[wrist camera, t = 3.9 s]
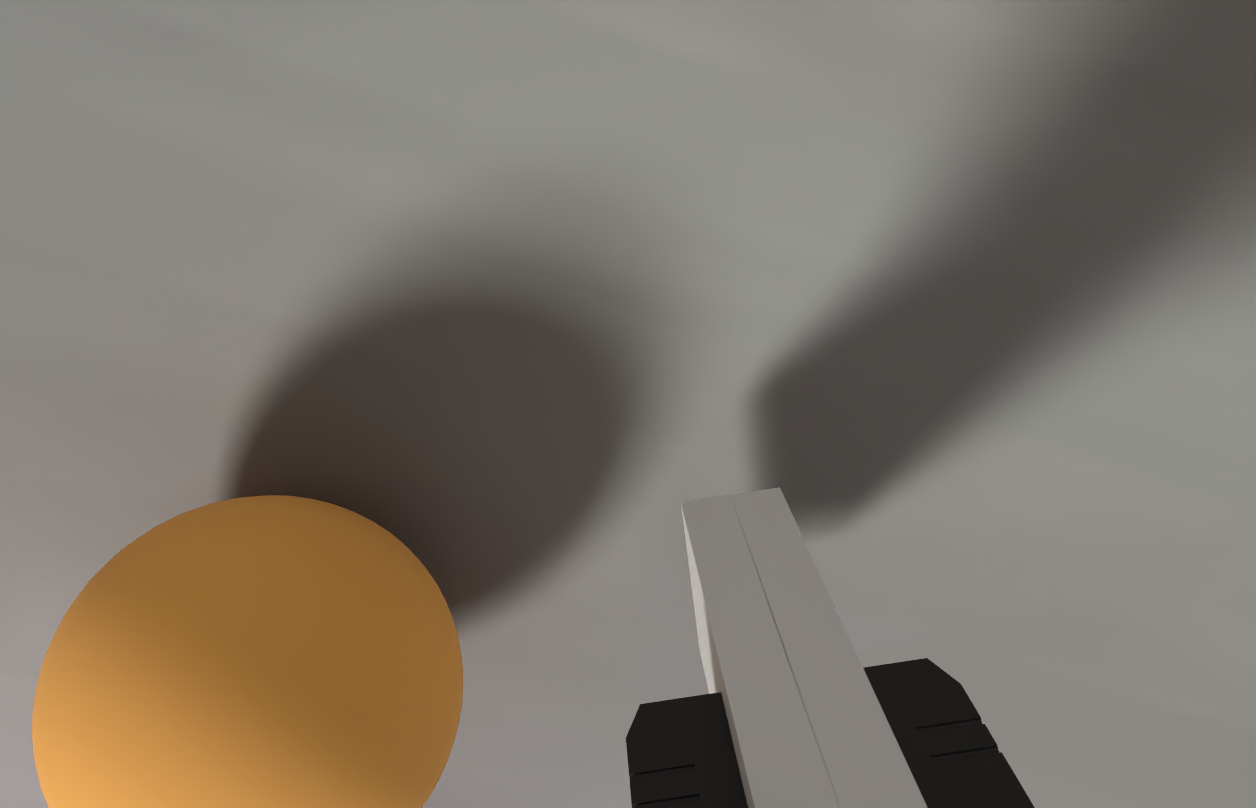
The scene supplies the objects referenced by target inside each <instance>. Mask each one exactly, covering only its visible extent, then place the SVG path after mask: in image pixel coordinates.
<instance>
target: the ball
mask: <svg viewBox="0 0 1256 808" xmlns="http://www.w3.org/2000/svg"><path fill="white" fill-rule="evenodd" d="M462 694H463V665H462V658H461V651H460V645H459V639H458V634H457V630H456V627H455V624H454V621H453V618H452V615H451V613H450V610H449V608H448V605H447V603H446V600H445V598H444V597H443V595H442V593H441V591H440V589H439V587H438V585H437V583H436V582H435V580H434V579H433V578H432V576H431V575H430V573H429V572H428V571H427V569H426V568H425V566H424V565H423V564H422V563H421V561H420V560H419V559H418V558H417V557H416V556H415V555H414V554H413V553H412V552H411V551H410V549H409V548H408V547H407V546H406V545H405V544H403V543H402V542H401V541H400V540H399V539H397V538H396V537H395V536H394V535H393V534H391V533H390V532H389V531H387V530H386V529H384V528H382V527H381V526H379V525H378V524H376V523H375V522H373V521H371V520H369V519H367V518H365V517H363V516H361V515H360V514H358V513H356V512H353V511H351V510H348V509H345V508H343V507H340V506H337V505H335V504H331V503H327V502H323V501H319V500H315V499H310V498H303V497H296V496H282V495H264V496H253V497H242V498H234V499H230V500H225V501H220V502H215V503H211V504H208V505H205V506H203V507H200V508H197V509H194V510H191V511H188V512H186V513H183V514H181V515H178V516H176V517H174V518H172V519H170V520H168V521H166V522H164V523H162V524H160V525H158V526H156V527H154V528H153V529H151V530H150V531H148V532H147V533H145V534H144V535H142V536H141V537H139V538H138V539H136V540H135V541H133V542H132V543H131V544H129V545H128V546H126V547H125V548H123V549H122V550H121V551H120V552H119V553H118V554H117V555H115V556H114V557H113V558H112V559H111V560H110V561H109V562H108V563H107V564H106V565H105V566H104V567H103V568H102V569H101V570H100V571H99V572H98V573H97V574H96V575H95V576H94V577H93V578H92V579H91V580H90V581H89V582H88V584H87V585H86V586H85V587H84V589H83V590H82V591H81V593H80V594H79V595H78V597H77V598H76V599H75V601H74V602H73V604H72V605H71V607H70V608H69V609H68V611H67V612H66V614H65V615H64V617H63V619H62V621H61V623H60V625H59V627H58V629H57V631H56V633H55V635H54V637H53V639H52V641H51V643H50V646H49V648H48V650H47V652H46V655H45V658H44V662H43V665H42V668H41V671H40V675H39V679H38V683H37V688H36V692H35V698H34V707H33V720H32V739H33V754H34V759H35V764H36V768H37V773H38V777H39V781H40V785H41V789H42V792H43V795H44V797H45V799H46V802H47V804H48V807H49V808H422V807H423V805H424V804H425V802H426V801H427V799H428V798H429V796H430V795H431V793H432V791H433V789H434V788H435V786H436V784H437V782H438V780H439V778H440V776H441V774H442V772H443V769H444V767H445V765H446V763H447V761H448V758H449V755H450V752H451V749H452V746H453V743H454V740H455V736H456V732H457V728H458V724H459V719H460V712H461V706H462Z"/></svg>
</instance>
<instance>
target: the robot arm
mask: <svg viewBox="0 0 1256 808" xmlns="http://www.w3.org/2000/svg"><path fill="white" fill-rule="evenodd" d="M681 507H682V514H683V522H684V530H685V538H686V546H687V554H688V562H689V570H690V577H691V585H692V593H693V601H694V609H695V617H696V625H697V633H698V640H699V648H700V653H701V658H702V663H703V667H704V672H705V676H706V681H707V686H708V690H709V694H705V695H699V696H692V697H685V698H679V699H672V700H666V701H659V702H652V703H646V704H640V706H639V709H638V711H637V713H636V716H635V718H634V720H633V723H632V725H631V727H630V730H629V732H628V734H627V737H626V743H627V755H628V766H629V776H630V789H631V801H632V808H1034V806H1033V804H1032V803H1031V801H1030V799H1029V798H1028V796H1027V794H1026V793H1025V791H1024V789H1023V788H1022V786H1021V784H1020V782H1019V781H1018V779H1017V777H1016V776H1015V774H1014V772H1013V771H1012V769H1011V767H1010V766H1009V764H1008V762H1007V761H1006V759H1005V757H1004V756H1003V754H1002V753H999V751H998V747H997V744H996V742H995V741H994V739H993V737H992V736H991V734H990V732H989V730H988V729H987V727H986V725H985V724H982V722H981V717H980V715H979V714H978V712H977V710H976V709H975V707H974V705H973V704H972V702H971V700H970V699H969V697H968V695H967V694H966V692H965V690H964V689H963V687H962V685H961V684H960V683H959V682H957V681H956V680H955V679H954V678H952V677H951V676H950V675H948V674H947V673H946V672H944V671H943V670H942V669H940V668H939V667H938V666H937V665H935V664H934V663H933V662H931V661H930V660H929V659H927V658H924V659H918V660H911V661H905V662H898V663H892V664H885V665H878V666H872V667H865V668H863V667H862V664H861V662H860V660H859V658H858V656H857V654H856V651H855V649H854V647H853V645H852V643H851V641H850V638H849V636H848V634H847V632H846V630H845V627H844V625H843V623H842V621H841V619H840V617H839V614H838V612H837V610H836V608H835V606H834V604H833V601H832V599H831V597H830V595H829V593H828V591H827V588H826V586H825V584H824V582H823V580H822V578H821V575H820V573H819V571H818V569H817V567H816V565H815V562H814V560H813V558H812V556H811V554H810V552H809V549H808V547H807V545H806V543H805V541H804V539H803V536H802V534H801V532H800V530H799V528H798V525H797V523H796V521H795V519H794V517H793V515H792V512H791V510H790V508H789V506H788V504H787V502H786V499H785V497H784V495H783V493H782V491H781V489H780V487H779V488H772V489H765V490H759V491H752V492H745V493H739V494H732V495H725V496H719V497H712V498H705V499H699V500H692V501H685V502H681Z"/></svg>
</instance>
